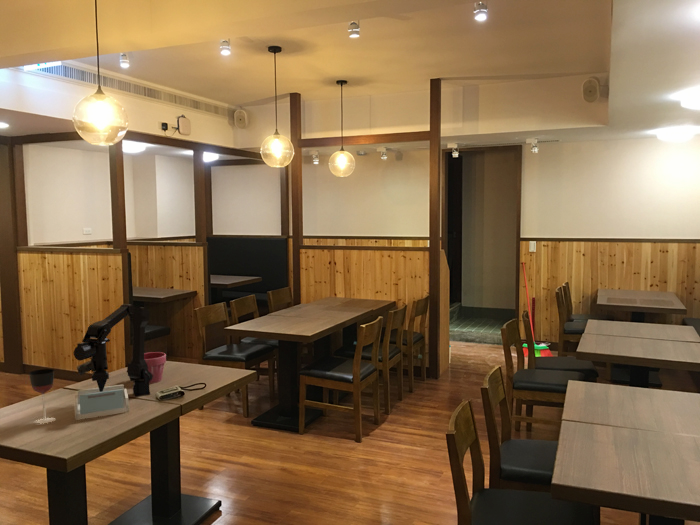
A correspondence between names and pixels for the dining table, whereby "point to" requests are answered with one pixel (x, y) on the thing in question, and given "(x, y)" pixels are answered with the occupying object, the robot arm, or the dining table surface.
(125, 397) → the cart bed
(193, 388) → the dining table surface
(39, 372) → the wineglass
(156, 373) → the plant pot
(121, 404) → the tailgate
